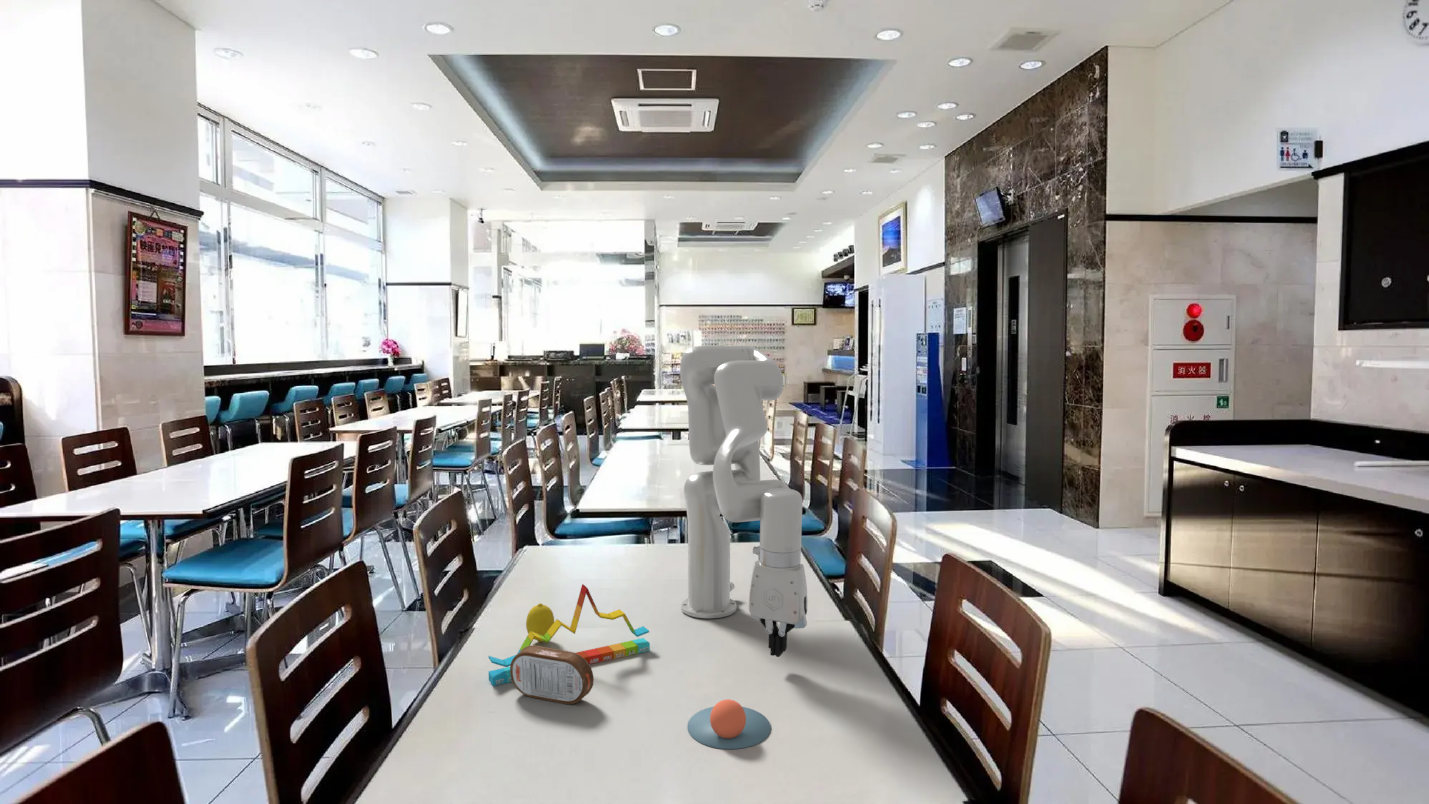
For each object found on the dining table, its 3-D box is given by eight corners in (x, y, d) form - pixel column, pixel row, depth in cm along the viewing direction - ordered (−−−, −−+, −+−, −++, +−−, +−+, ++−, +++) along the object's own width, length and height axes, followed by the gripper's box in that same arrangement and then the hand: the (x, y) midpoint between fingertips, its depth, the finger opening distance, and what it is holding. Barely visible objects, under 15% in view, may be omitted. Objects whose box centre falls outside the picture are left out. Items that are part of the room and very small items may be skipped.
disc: (710, 699, 123) (710, 698, 123) (782, 717, 118) (782, 716, 117) (672, 736, 112) (672, 735, 112) (750, 757, 106) (750, 756, 106)
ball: (702, 715, 109) (707, 742, 111) (736, 722, 107) (741, 749, 109) (715, 688, 114) (719, 715, 116) (748, 694, 112) (752, 721, 114)
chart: (493, 688, 128) (491, 605, 127) (488, 681, 131) (487, 599, 130) (650, 652, 143) (650, 578, 142) (643, 647, 146) (643, 573, 145)
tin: (594, 701, 123) (594, 652, 122) (585, 710, 120) (585, 660, 119) (518, 687, 128) (517, 640, 127) (507, 695, 125) (506, 647, 124)
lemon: (547, 648, 144) (547, 609, 143) (521, 646, 145) (521, 607, 145) (559, 638, 149) (558, 599, 149) (533, 635, 150) (533, 597, 150)
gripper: (734, 556, 133) (732, 652, 135) (812, 569, 126) (809, 670, 128) (750, 545, 140) (748, 637, 141) (825, 557, 133) (822, 653, 135)
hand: (777, 653), depth 135 cm, fingers closed
